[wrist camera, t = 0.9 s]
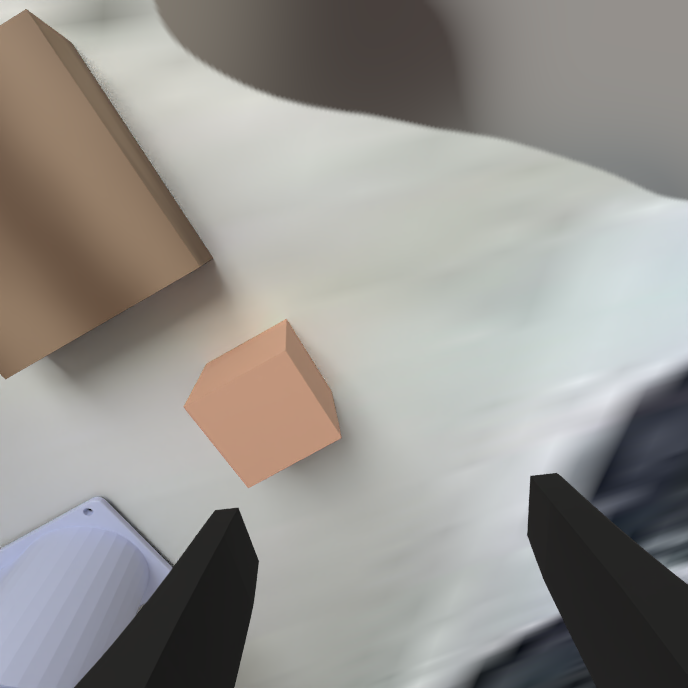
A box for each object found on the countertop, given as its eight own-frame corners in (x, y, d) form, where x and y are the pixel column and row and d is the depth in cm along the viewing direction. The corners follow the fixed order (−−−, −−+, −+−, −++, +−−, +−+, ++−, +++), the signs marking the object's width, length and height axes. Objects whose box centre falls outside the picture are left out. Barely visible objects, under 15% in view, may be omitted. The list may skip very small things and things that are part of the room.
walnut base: (44, 355, 20) (5, 379, 18) (-127, 165, 17) (-209, 158, 14) (213, 258, 20) (200, 266, 17) (71, 42, 17) (26, 8, 14)
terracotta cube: (256, 431, 24) (248, 488, 19) (206, 363, 22) (183, 407, 17) (331, 390, 23) (341, 437, 19) (286, 318, 22) (285, 350, 17)
